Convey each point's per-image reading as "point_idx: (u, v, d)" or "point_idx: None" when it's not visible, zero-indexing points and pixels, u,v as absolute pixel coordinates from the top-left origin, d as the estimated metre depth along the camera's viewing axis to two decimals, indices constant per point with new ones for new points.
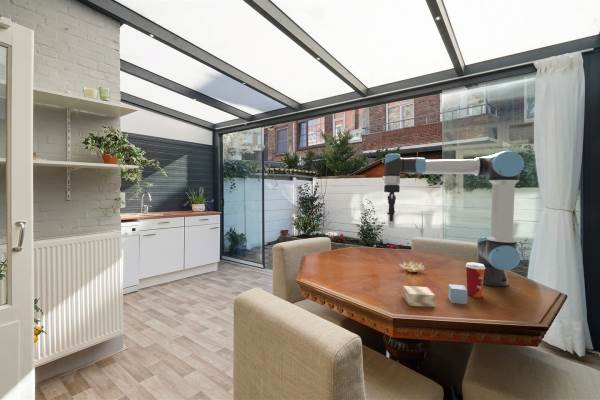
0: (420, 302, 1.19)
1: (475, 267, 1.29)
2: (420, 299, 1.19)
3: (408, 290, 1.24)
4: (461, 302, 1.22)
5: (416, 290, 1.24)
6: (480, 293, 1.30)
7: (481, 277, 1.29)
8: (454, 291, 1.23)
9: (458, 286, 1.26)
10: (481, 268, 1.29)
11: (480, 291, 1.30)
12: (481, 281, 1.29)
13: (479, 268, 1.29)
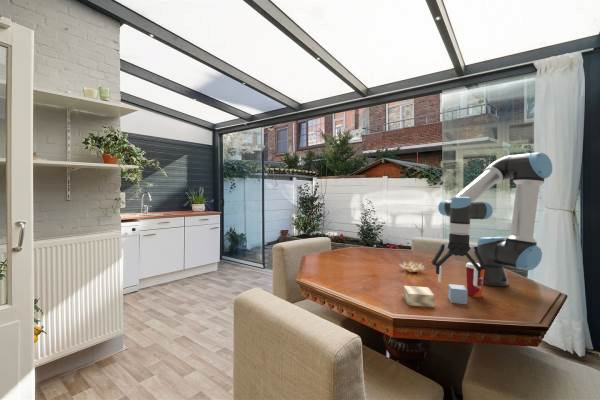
0: (419, 302, 1.19)
1: None
2: (419, 299, 1.19)
3: (408, 290, 1.24)
4: (461, 302, 1.22)
5: (416, 290, 1.24)
6: (480, 293, 1.30)
7: (481, 277, 1.29)
8: (454, 291, 1.23)
9: (458, 286, 1.26)
10: None
11: (480, 291, 1.30)
12: (481, 281, 1.29)
13: None
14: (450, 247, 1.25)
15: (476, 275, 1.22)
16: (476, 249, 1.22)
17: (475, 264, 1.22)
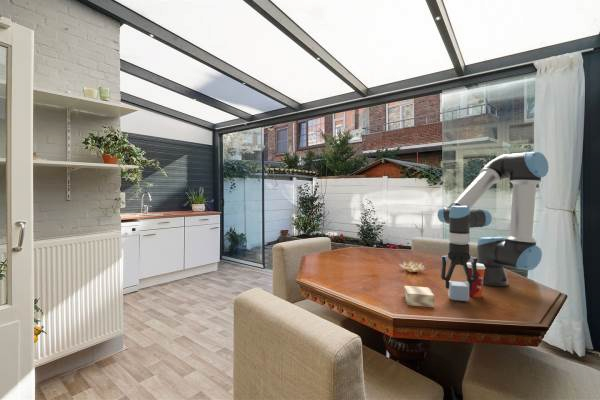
0: (419, 302, 1.19)
1: None
2: (419, 299, 1.19)
3: (408, 290, 1.24)
4: (462, 299, 1.22)
5: (416, 290, 1.24)
6: (480, 293, 1.30)
7: (481, 277, 1.29)
8: (455, 288, 1.23)
9: (459, 282, 1.27)
10: (481, 268, 1.29)
11: (480, 291, 1.30)
12: (481, 281, 1.29)
13: (479, 268, 1.29)
14: (451, 257, 1.25)
15: (468, 287, 1.23)
16: (475, 261, 1.22)
17: (468, 276, 1.23)
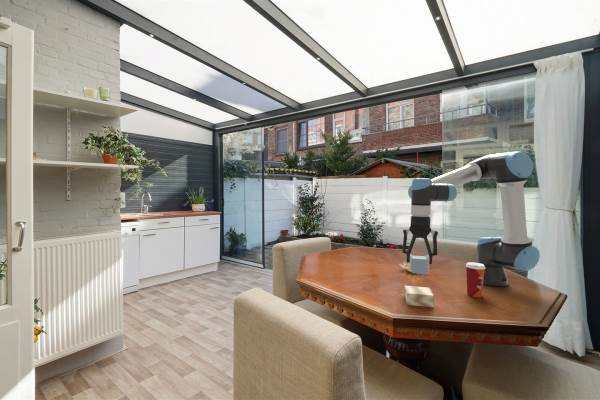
0: (418, 302, 1.19)
1: (475, 267, 1.29)
2: (418, 299, 1.19)
3: (407, 290, 1.24)
4: (422, 272, 1.20)
5: (416, 290, 1.24)
6: (480, 293, 1.30)
7: (481, 277, 1.29)
8: (415, 261, 1.21)
9: (420, 256, 1.25)
10: (481, 268, 1.29)
11: (480, 291, 1.30)
12: (481, 281, 1.29)
13: (479, 268, 1.29)
14: (412, 230, 1.23)
15: (428, 261, 1.21)
16: (436, 234, 1.20)
17: (429, 249, 1.21)
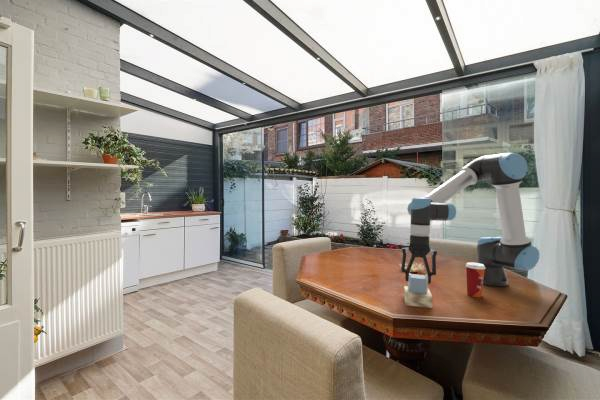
0: (417, 303, 1.19)
1: (475, 267, 1.29)
2: (417, 300, 1.19)
3: (406, 290, 1.24)
4: (420, 291, 1.20)
5: None
6: (480, 293, 1.30)
7: (481, 277, 1.29)
8: (414, 280, 1.21)
9: (419, 275, 1.25)
10: (481, 268, 1.29)
11: (480, 291, 1.30)
12: (481, 281, 1.29)
13: (479, 268, 1.29)
14: (411, 249, 1.23)
15: None
16: (435, 254, 1.20)
17: (428, 269, 1.21)
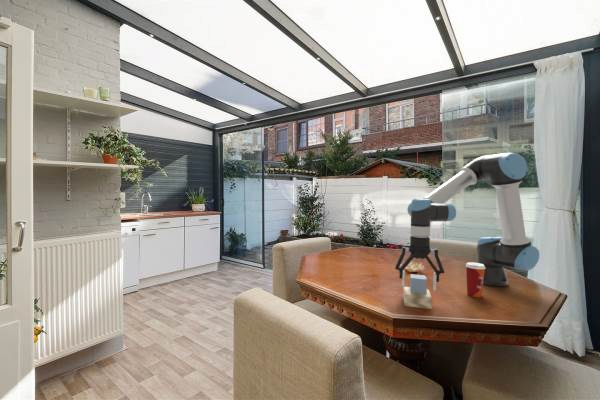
0: (416, 303, 1.18)
1: (475, 267, 1.29)
2: (416, 300, 1.18)
3: (406, 291, 1.23)
4: (421, 292, 1.20)
5: None
6: (480, 293, 1.30)
7: (481, 277, 1.29)
8: (414, 280, 1.21)
9: (419, 276, 1.24)
10: (481, 268, 1.29)
11: (480, 291, 1.30)
12: (481, 281, 1.29)
13: (479, 268, 1.29)
14: (411, 250, 1.23)
15: (435, 279, 1.21)
16: (436, 252, 1.21)
17: (434, 268, 1.21)
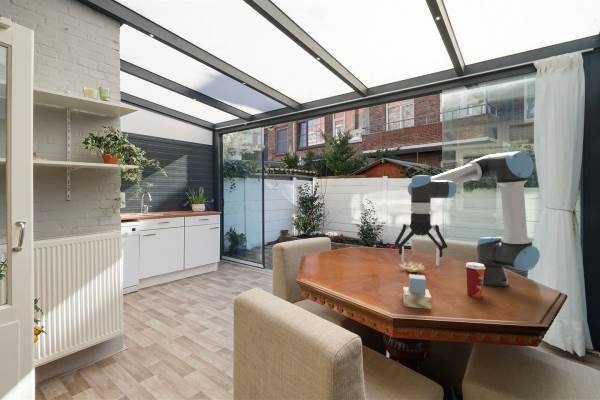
0: (416, 304, 1.18)
1: (475, 267, 1.29)
2: (416, 301, 1.18)
3: (405, 291, 1.23)
4: (420, 292, 1.20)
5: None
6: (480, 293, 1.30)
7: (481, 277, 1.29)
8: (413, 280, 1.20)
9: (418, 276, 1.24)
10: (481, 268, 1.29)
11: (480, 291, 1.30)
12: (481, 281, 1.29)
13: (479, 268, 1.29)
14: (412, 227, 1.23)
15: (438, 254, 1.20)
16: (437, 228, 1.20)
17: (437, 243, 1.20)
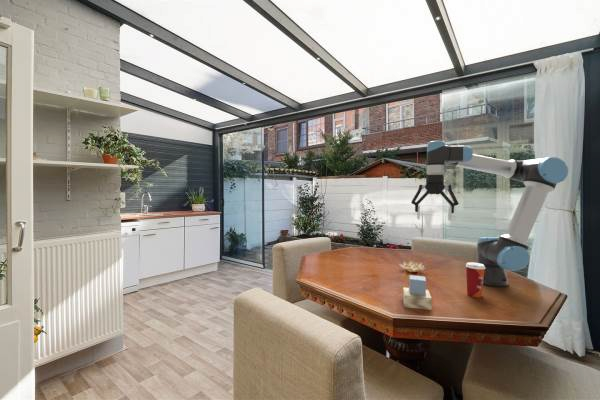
0: (416, 305, 1.17)
1: (475, 267, 1.29)
2: (416, 301, 1.17)
3: (405, 292, 1.22)
4: (420, 293, 1.18)
5: None
6: (480, 293, 1.30)
7: (481, 277, 1.29)
8: (413, 281, 1.19)
9: (419, 277, 1.22)
10: (481, 268, 1.29)
11: (480, 291, 1.30)
12: (481, 281, 1.29)
13: (479, 268, 1.29)
14: (427, 187, 1.39)
15: (450, 210, 1.37)
16: (450, 187, 1.37)
17: (449, 200, 1.37)
